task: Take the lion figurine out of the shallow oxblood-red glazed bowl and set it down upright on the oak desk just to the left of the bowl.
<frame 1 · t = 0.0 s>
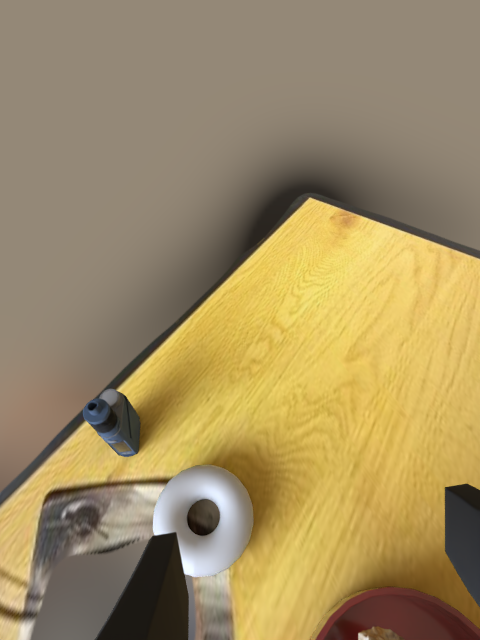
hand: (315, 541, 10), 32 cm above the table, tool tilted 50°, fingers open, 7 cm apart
donut: (205, 519, 40), on the table
vaping device: (130, 437, 45), on the table
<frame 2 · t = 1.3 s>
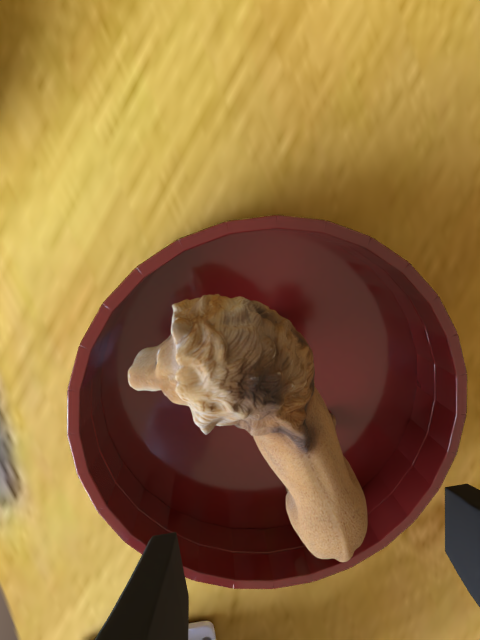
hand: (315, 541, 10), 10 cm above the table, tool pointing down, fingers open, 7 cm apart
lion figurine: (263, 391, 20), resting on bowl
bowl: (263, 390, 20), on the table
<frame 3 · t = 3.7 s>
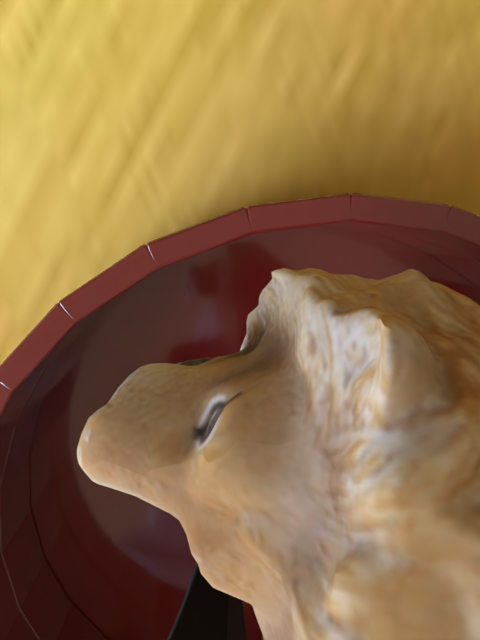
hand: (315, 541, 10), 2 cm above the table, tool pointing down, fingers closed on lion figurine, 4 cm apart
lion figurine: (284, 471, 12), resting on bowl, touching gripper
bowl: (297, 486, 12), on the table
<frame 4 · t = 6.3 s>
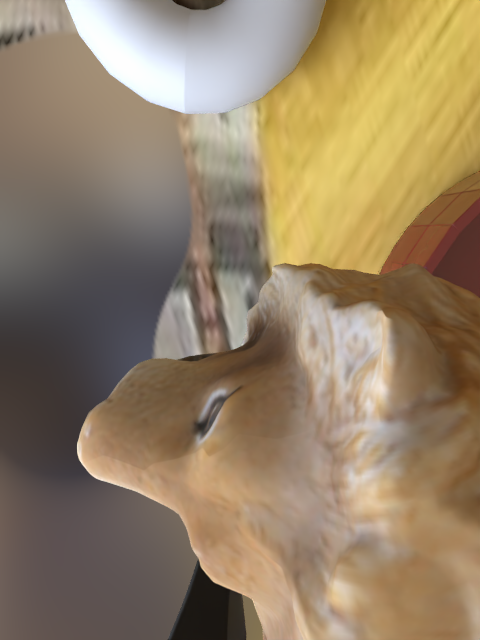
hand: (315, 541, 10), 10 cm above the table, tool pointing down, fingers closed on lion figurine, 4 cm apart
lion figurine: (284, 469, 12), point 8 cm above the table, touching gripper
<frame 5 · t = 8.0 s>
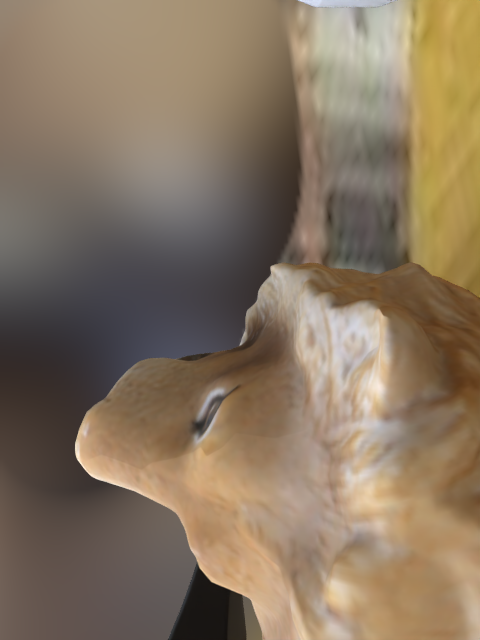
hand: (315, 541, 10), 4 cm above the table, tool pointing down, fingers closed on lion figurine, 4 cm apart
lion figurine: (284, 469, 12), point 2 cm above the table, touching gripper
when the fingers open (2 cm above the table, at t = 9.1 s): lion figurine stays where it is, on the table.
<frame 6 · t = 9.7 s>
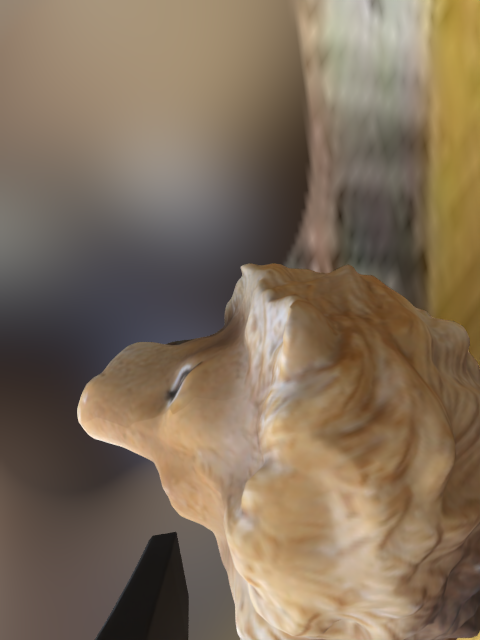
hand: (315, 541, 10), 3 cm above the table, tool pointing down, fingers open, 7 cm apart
lion figurine: (277, 452, 13), on the table
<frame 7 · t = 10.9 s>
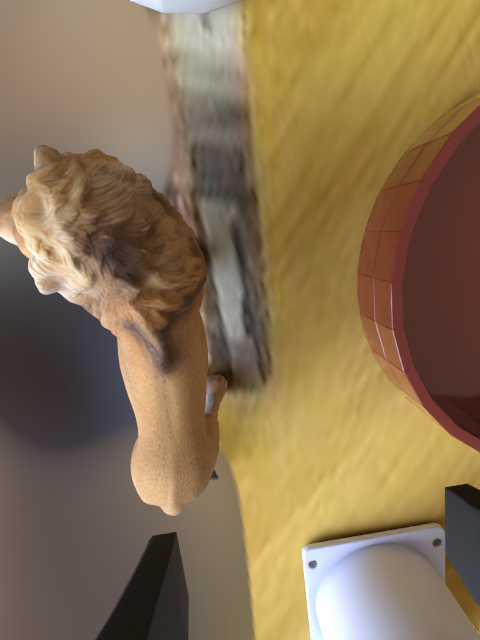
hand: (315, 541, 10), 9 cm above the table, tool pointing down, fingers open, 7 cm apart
lion figurine: (164, 331, 18), on the table
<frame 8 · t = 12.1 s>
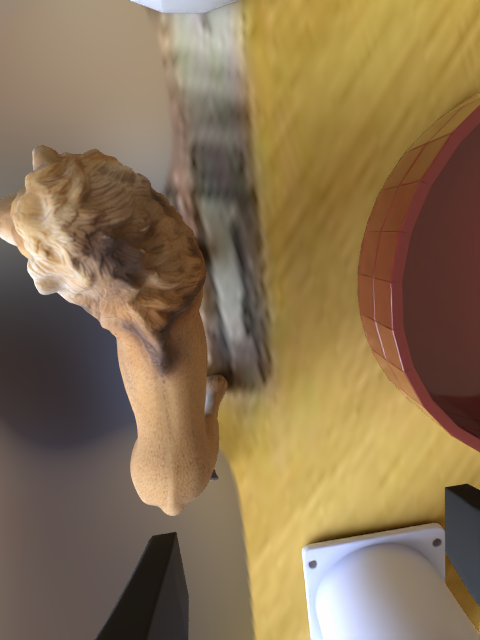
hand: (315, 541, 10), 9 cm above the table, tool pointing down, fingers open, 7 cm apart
lion figurine: (163, 331, 18), on the table
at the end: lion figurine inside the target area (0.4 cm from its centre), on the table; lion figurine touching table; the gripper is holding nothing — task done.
